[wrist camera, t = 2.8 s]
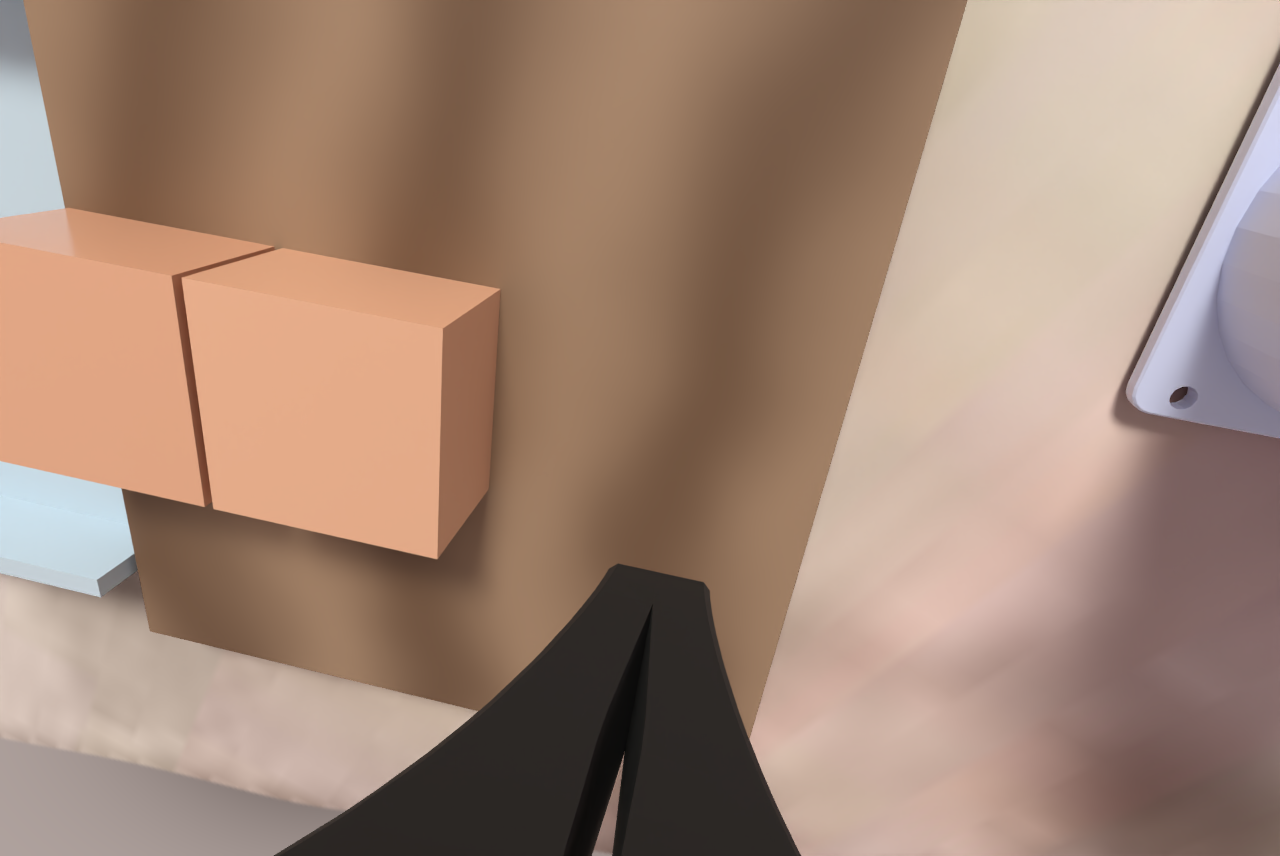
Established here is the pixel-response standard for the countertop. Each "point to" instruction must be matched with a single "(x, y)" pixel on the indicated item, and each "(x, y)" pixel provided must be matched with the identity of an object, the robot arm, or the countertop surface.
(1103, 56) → the countertop surface
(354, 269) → the tile
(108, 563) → the tray
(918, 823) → the countertop surface
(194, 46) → the board
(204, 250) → the tile
